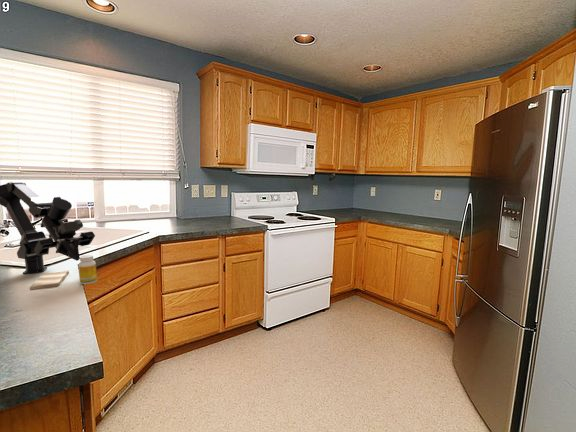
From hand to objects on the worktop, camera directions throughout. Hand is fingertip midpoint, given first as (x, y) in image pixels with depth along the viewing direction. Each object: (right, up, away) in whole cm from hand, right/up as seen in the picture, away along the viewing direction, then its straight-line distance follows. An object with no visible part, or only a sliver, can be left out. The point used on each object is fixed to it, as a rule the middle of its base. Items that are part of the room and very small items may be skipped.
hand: (78, 259), depth 113 cm
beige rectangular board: (-11, -8, +1) cm, 13 cm away
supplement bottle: (+4, -8, -1) cm, 9 cm away
